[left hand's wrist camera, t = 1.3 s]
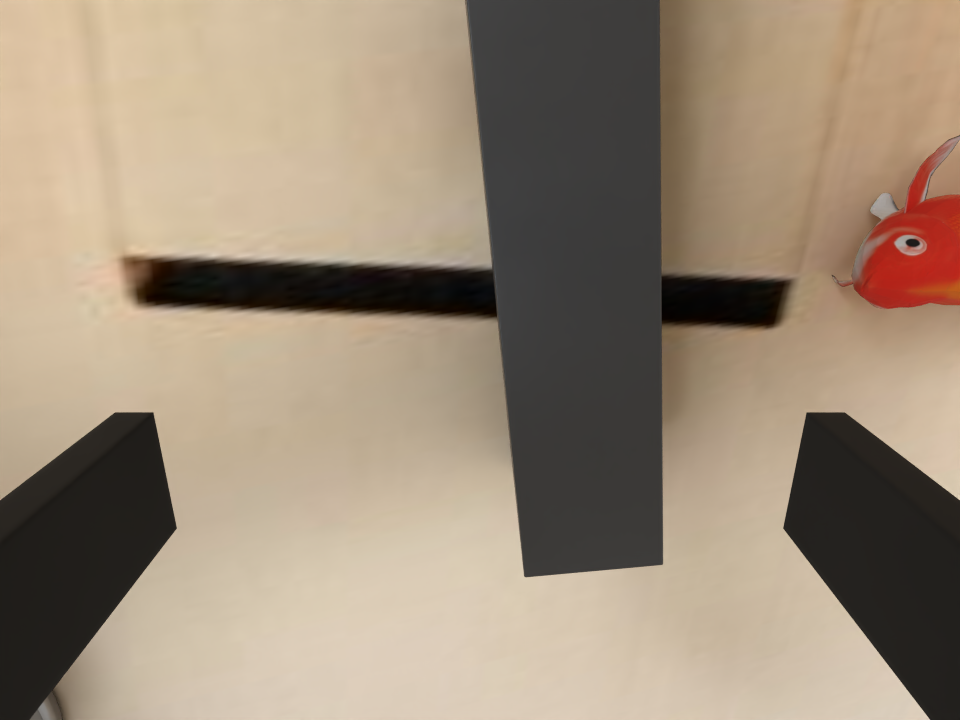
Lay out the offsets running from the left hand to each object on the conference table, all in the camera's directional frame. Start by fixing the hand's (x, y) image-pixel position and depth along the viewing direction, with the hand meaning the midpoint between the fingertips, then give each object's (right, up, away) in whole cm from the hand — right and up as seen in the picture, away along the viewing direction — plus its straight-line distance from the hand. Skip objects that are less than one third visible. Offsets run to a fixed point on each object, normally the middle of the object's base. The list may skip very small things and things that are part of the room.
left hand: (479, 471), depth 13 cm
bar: (+3, +12, +15) cm, 20 cm away
